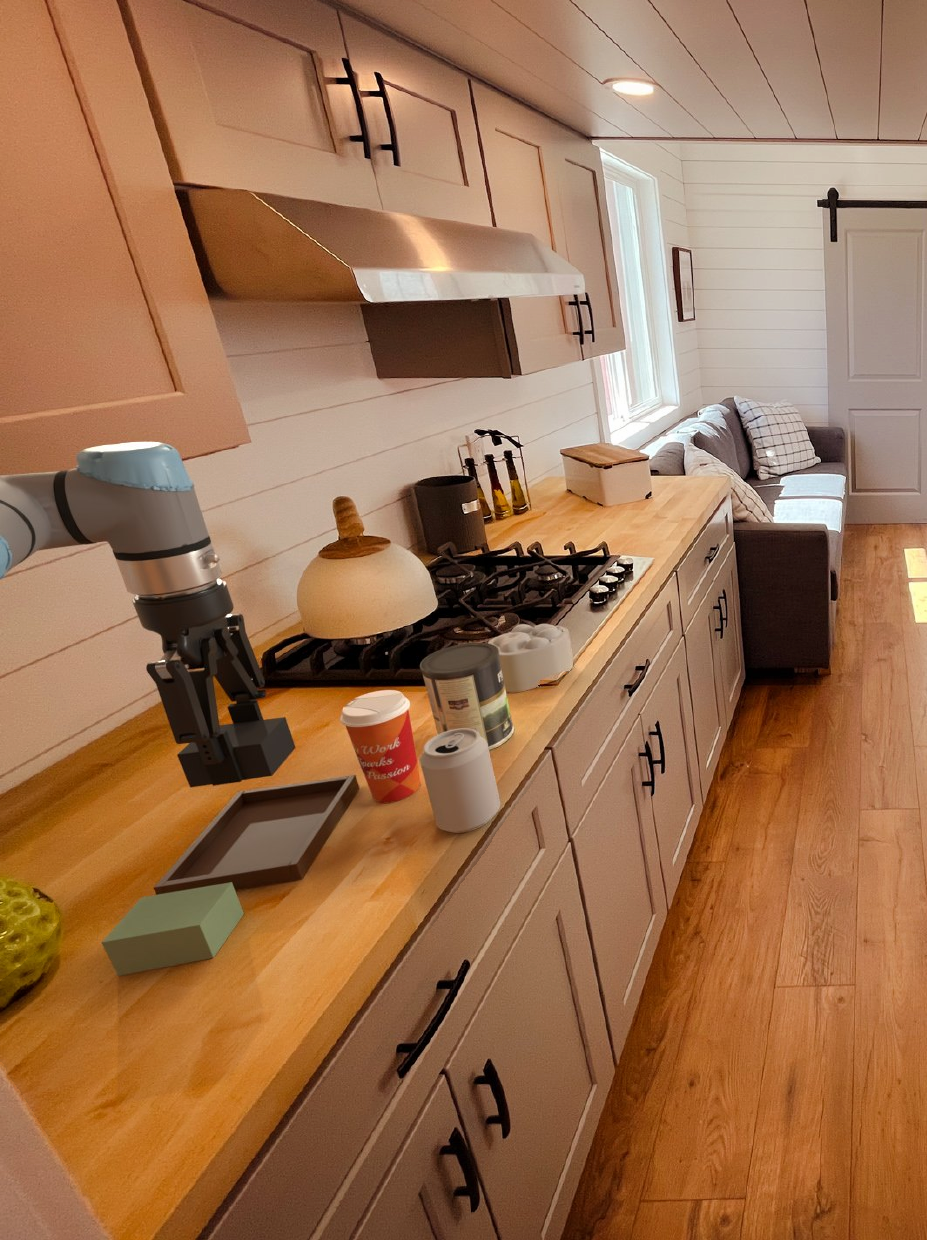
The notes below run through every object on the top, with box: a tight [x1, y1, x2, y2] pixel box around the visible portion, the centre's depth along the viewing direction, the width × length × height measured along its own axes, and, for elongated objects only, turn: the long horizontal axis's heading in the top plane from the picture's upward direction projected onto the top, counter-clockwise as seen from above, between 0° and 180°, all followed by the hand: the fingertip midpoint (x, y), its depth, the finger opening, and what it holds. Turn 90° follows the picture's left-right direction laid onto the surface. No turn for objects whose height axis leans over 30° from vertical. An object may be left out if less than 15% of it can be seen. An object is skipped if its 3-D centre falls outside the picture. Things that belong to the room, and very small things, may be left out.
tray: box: [153, 774, 360, 895], centre depth 90 cm, size 14×18×2 cm
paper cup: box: [339, 689, 421, 804], centre depth 98 cm, size 8×8×14 cm
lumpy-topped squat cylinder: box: [487, 623, 574, 694], centre depth 130 cm, size 10×13×9 cm
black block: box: [176, 716, 296, 788], centre depth 86 cm, size 8×6×4 cm
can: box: [419, 728, 501, 834], centre depth 93 cm, size 8×8×12 cm
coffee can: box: [419, 642, 515, 751], centre depth 110 cm, size 10×10×14 cm
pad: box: [101, 882, 245, 977], centre depth 75 cm, size 8×6×4 cm
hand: (243, 764), depth 86 cm, fingers closed on black block, 6 cm apart
